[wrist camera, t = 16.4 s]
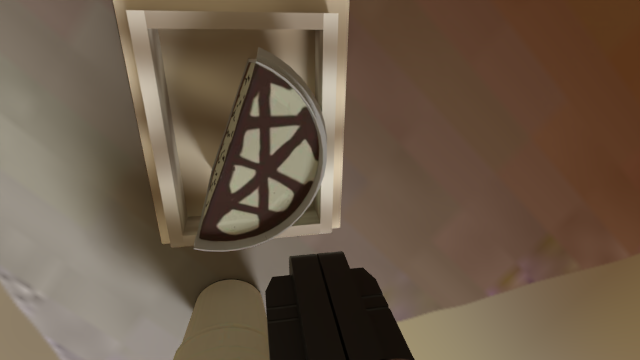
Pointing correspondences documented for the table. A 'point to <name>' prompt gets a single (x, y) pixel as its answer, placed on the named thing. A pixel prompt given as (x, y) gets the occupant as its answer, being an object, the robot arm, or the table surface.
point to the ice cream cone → (226, 324)
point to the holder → (225, 92)
